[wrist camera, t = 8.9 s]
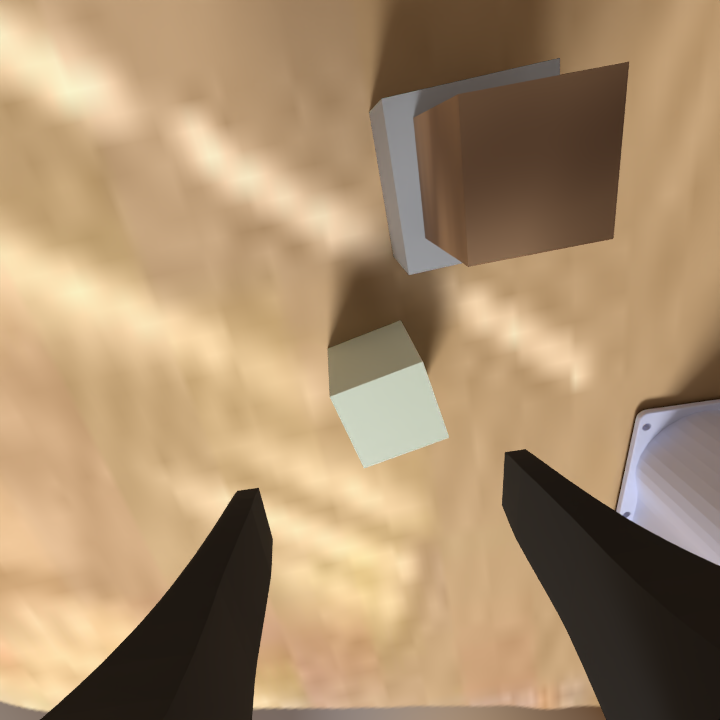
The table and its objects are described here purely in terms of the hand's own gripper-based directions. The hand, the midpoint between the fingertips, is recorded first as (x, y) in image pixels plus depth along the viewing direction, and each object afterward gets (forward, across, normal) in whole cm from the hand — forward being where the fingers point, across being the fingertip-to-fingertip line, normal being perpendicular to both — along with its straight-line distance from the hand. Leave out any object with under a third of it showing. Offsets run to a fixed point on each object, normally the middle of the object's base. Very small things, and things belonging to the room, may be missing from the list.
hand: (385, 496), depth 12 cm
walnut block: (+7, -5, -8) cm, 12 cm away
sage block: (+10, -1, +1) cm, 11 cm away
